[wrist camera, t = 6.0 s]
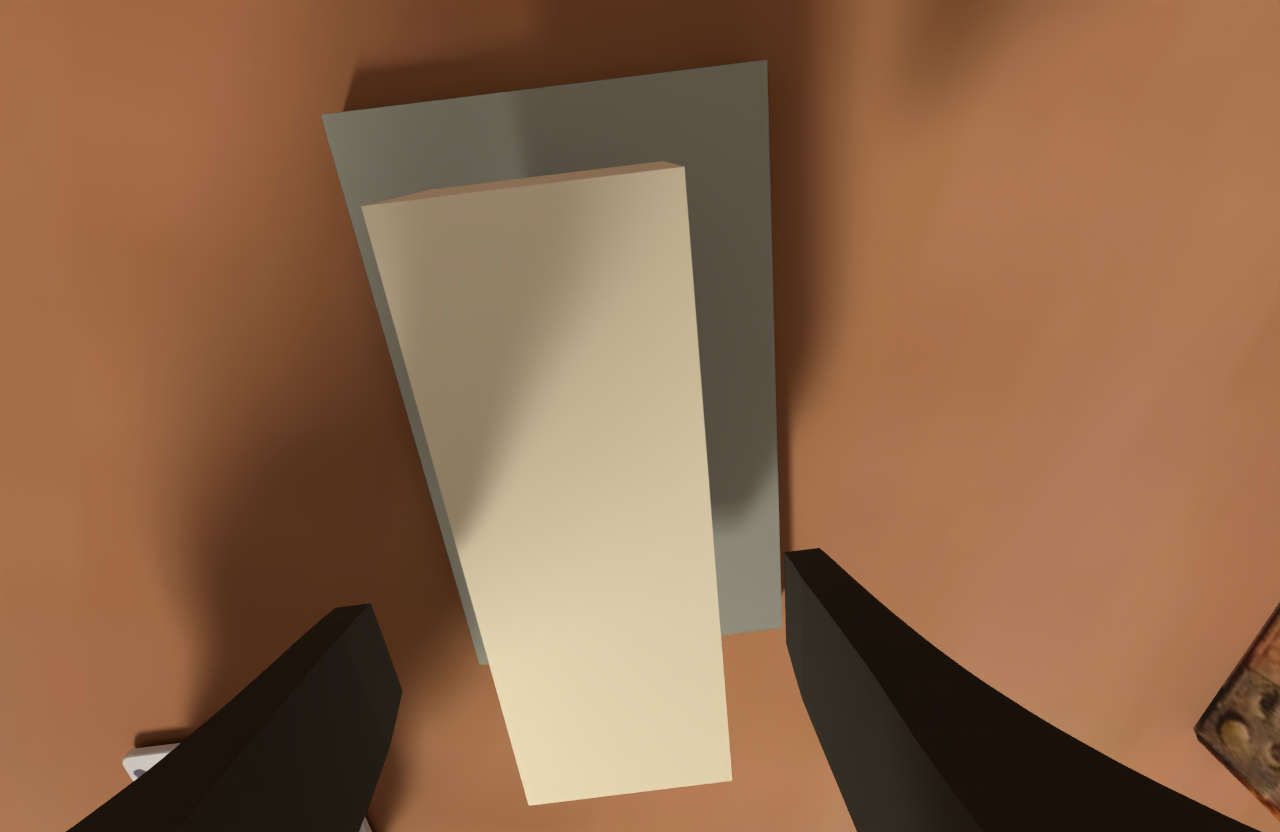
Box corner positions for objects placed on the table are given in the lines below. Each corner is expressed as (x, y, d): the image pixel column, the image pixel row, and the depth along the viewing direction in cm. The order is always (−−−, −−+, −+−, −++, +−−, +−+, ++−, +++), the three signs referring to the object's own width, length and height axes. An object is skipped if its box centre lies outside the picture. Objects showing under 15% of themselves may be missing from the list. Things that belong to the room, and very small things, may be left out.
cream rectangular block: (707, 657, 19) (732, 780, 15) (543, 676, 19) (528, 805, 15) (663, 160, 13) (684, 166, 10) (429, 190, 13) (360, 206, 10)
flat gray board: (773, 605, 23) (806, 695, 20) (485, 640, 23) (461, 737, 20) (756, 65, 16) (802, 40, 12) (339, 117, 16) (257, 107, 12)
